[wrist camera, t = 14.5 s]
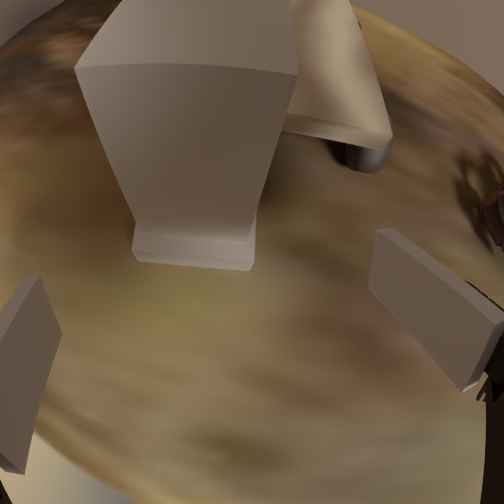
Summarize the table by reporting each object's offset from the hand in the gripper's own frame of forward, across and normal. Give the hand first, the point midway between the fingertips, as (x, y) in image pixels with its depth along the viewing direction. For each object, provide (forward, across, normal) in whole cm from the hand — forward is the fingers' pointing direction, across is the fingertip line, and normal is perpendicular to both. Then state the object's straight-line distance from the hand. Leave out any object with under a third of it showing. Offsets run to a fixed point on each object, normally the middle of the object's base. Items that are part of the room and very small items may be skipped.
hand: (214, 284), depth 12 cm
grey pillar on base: (+10, 0, -1) cm, 10 cm away
